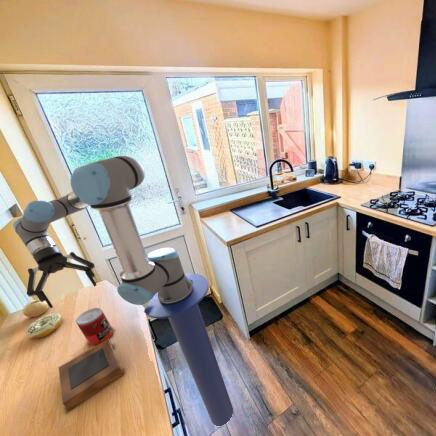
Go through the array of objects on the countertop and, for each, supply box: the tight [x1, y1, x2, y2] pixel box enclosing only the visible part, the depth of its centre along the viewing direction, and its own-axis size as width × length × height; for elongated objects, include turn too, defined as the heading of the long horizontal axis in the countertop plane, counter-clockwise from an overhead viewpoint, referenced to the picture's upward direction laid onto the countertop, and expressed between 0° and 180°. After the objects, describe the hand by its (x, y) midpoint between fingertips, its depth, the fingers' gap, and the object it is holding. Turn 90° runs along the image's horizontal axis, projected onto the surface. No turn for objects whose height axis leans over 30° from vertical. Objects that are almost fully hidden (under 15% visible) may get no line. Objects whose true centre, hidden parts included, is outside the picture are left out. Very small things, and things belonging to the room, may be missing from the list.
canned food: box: [75, 307, 114, 346], centre depth 91 cm, size 8×8×11 cm
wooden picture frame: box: [58, 338, 124, 411], centre depth 79 cm, size 14×16×4 cm
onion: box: [22, 297, 50, 318], centre depth 108 cm, size 8×8×7 cm
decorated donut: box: [25, 313, 63, 339], centre depth 99 cm, size 10×11×4 cm
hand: (74, 295), depth 93 cm, fingers open, 13 cm apart
